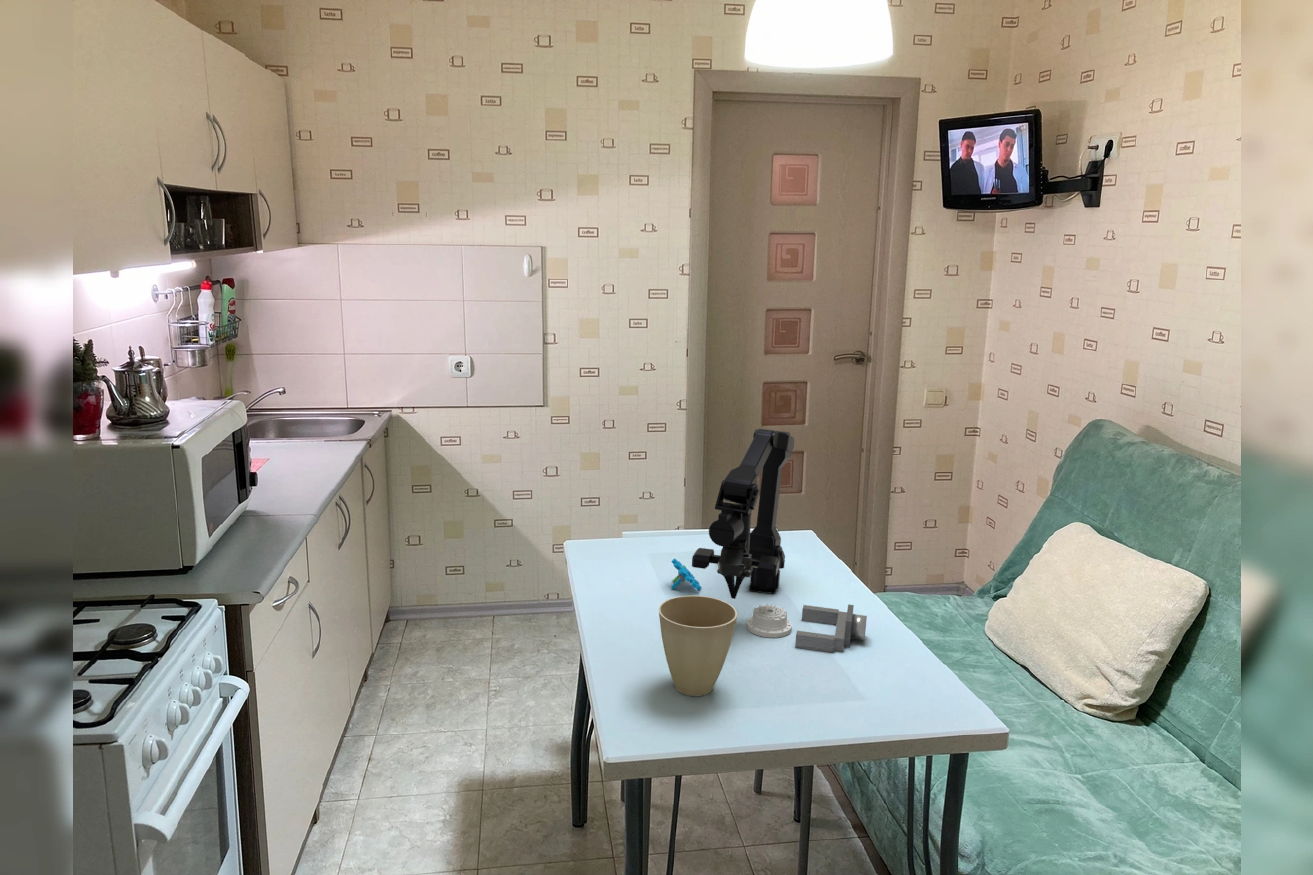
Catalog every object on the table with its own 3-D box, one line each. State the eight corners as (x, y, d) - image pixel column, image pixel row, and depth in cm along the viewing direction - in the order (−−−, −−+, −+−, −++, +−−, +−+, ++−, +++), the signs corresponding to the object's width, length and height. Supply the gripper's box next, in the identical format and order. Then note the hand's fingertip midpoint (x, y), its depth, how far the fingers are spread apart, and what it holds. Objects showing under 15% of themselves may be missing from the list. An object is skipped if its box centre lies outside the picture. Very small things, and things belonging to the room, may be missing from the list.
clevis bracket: (795, 647, 195) (797, 621, 194) (802, 616, 210) (804, 592, 209) (863, 656, 192) (865, 630, 190) (865, 625, 207) (868, 600, 206)
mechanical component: (744, 636, 200) (790, 641, 198) (745, 617, 199) (791, 622, 197) (749, 617, 210) (792, 622, 208) (750, 599, 209) (794, 604, 207)
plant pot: (729, 710, 169) (733, 631, 165) (649, 701, 172) (652, 622, 168) (736, 672, 183) (740, 598, 180) (662, 664, 186) (665, 591, 182)
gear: (705, 591, 219) (676, 561, 218) (687, 608, 219) (658, 578, 218) (701, 579, 230) (674, 551, 229) (684, 595, 230) (657, 567, 229)
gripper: (687, 539, 196) (685, 606, 200) (774, 549, 191) (770, 618, 195) (698, 523, 206) (695, 587, 210) (781, 532, 202) (777, 598, 206)
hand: (733, 597), depth 205 cm, fingers closed
